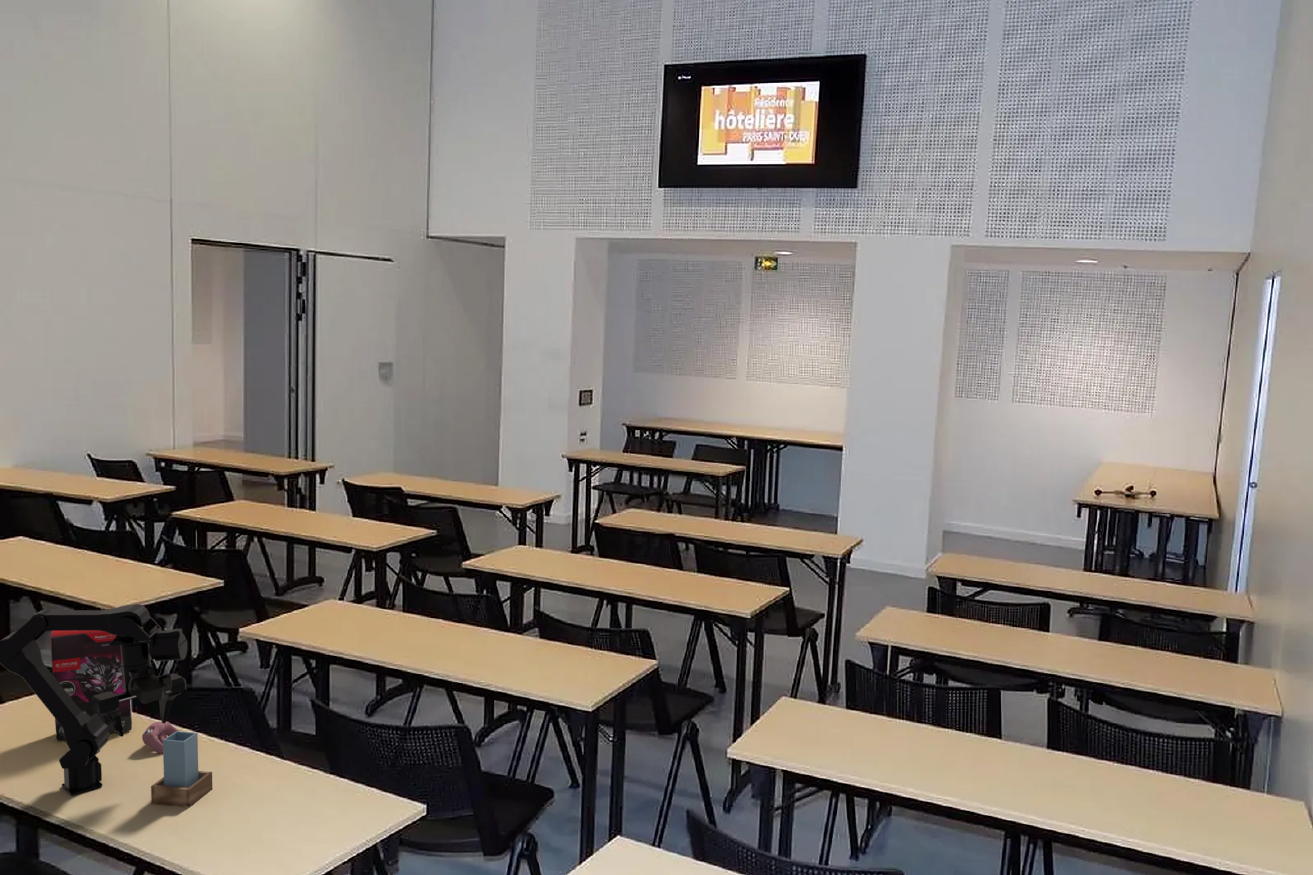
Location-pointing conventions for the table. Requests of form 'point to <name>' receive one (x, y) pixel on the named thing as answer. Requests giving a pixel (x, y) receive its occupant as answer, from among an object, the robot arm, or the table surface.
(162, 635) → the robot arm
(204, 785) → the walnut crate
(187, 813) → the table surface
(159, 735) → the video game controller
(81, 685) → the graphics card box
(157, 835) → the table surface
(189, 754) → the tall slate-blue crate
